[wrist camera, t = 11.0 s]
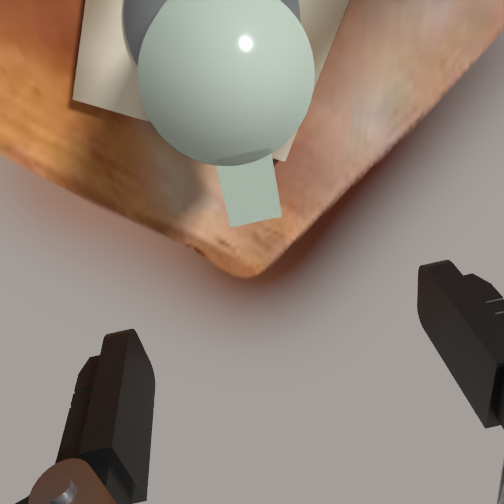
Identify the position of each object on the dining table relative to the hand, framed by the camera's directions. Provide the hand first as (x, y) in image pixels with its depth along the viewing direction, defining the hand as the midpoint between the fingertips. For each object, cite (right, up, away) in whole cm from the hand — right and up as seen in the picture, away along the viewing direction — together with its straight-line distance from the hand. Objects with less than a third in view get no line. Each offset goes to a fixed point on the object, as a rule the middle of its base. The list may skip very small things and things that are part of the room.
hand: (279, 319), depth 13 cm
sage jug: (-3, +13, +14) cm, 19 cm away
